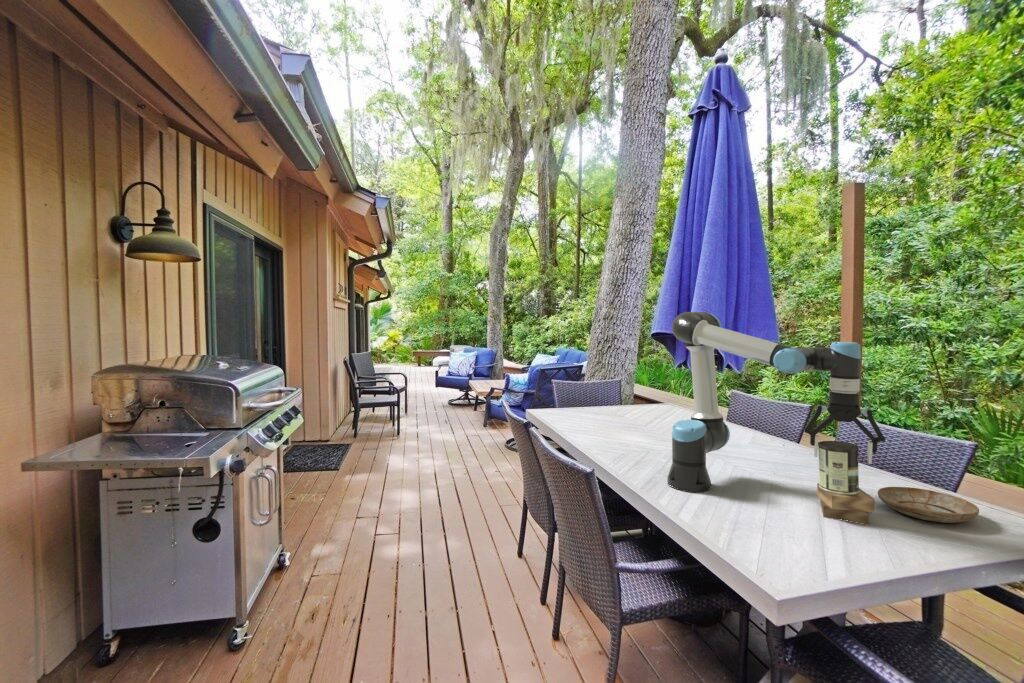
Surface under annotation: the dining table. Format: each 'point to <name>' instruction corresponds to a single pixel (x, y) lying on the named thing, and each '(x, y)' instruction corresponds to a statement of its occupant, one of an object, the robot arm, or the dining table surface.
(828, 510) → the lower block
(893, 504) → the wooden bowl
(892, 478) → the dining table surface
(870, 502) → the top block
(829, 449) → the coffee can
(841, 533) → the dining table surface
